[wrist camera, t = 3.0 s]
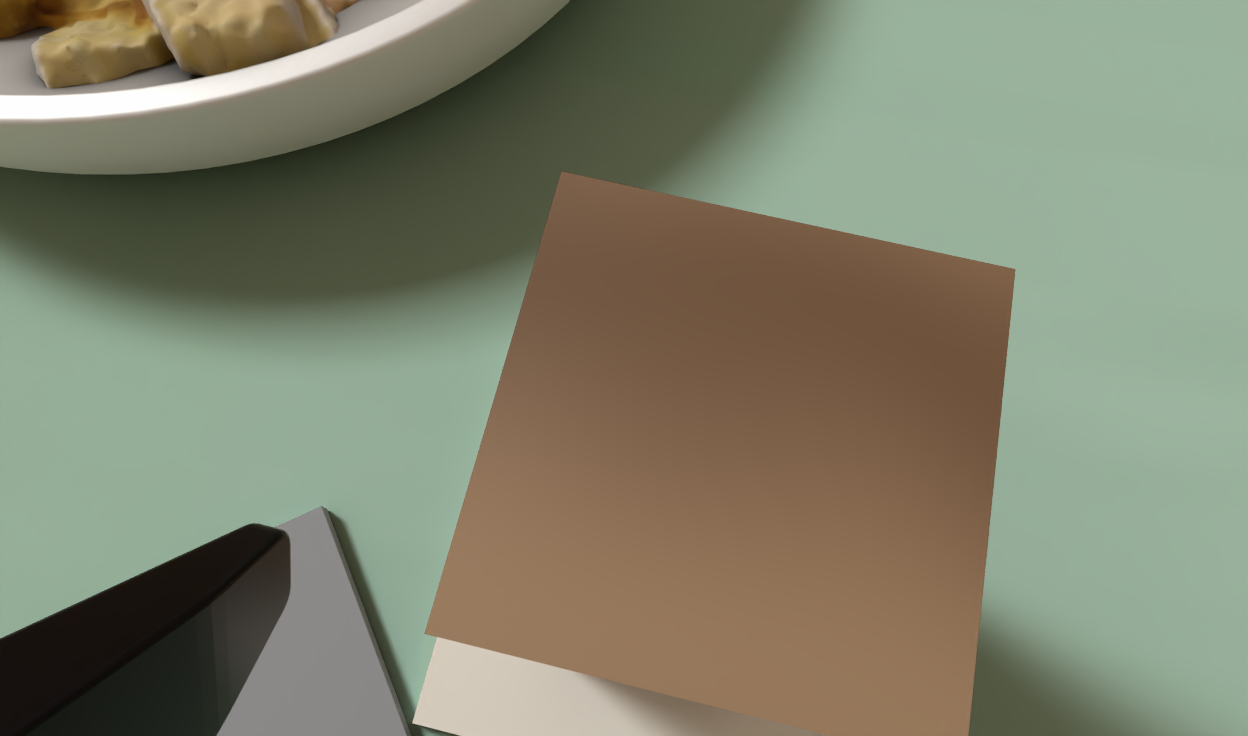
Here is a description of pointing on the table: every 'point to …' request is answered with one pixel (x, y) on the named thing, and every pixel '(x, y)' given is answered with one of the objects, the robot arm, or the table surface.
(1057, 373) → the table surface
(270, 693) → the rest mat
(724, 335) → the walnut block
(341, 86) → the bowl
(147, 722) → the robot arm
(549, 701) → the tile
